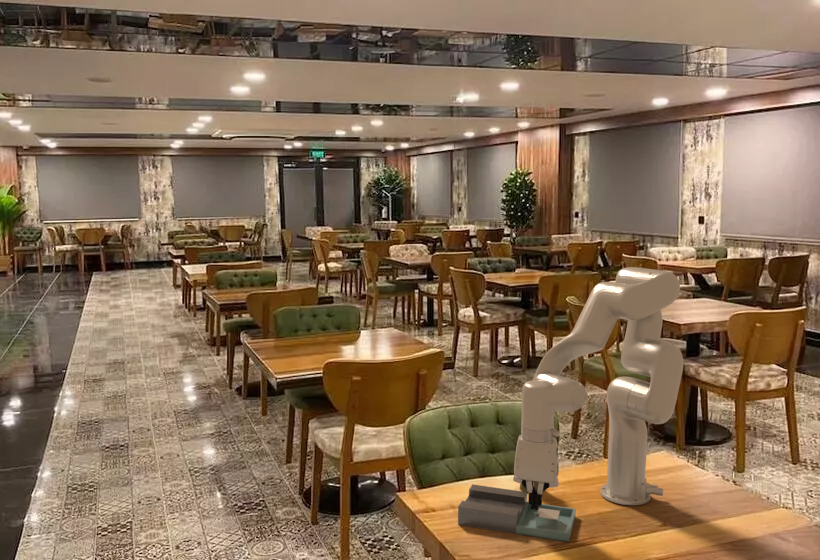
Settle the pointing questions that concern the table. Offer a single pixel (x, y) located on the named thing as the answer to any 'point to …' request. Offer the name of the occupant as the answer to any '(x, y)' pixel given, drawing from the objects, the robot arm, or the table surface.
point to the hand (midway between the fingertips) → (535, 507)
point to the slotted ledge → (492, 508)
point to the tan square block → (547, 518)
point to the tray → (561, 534)
